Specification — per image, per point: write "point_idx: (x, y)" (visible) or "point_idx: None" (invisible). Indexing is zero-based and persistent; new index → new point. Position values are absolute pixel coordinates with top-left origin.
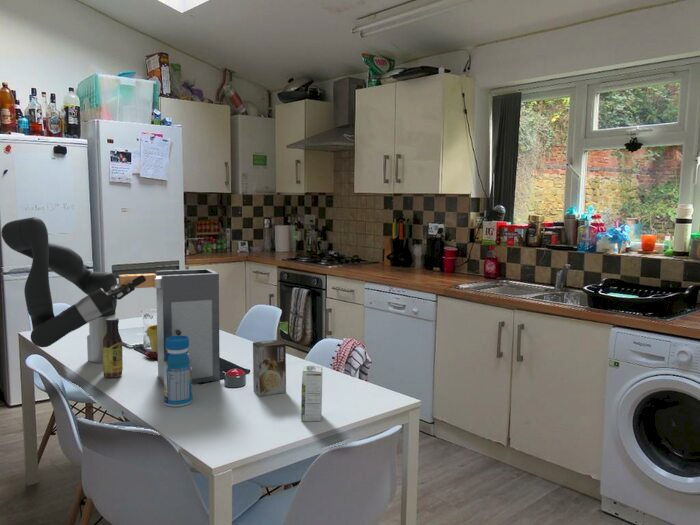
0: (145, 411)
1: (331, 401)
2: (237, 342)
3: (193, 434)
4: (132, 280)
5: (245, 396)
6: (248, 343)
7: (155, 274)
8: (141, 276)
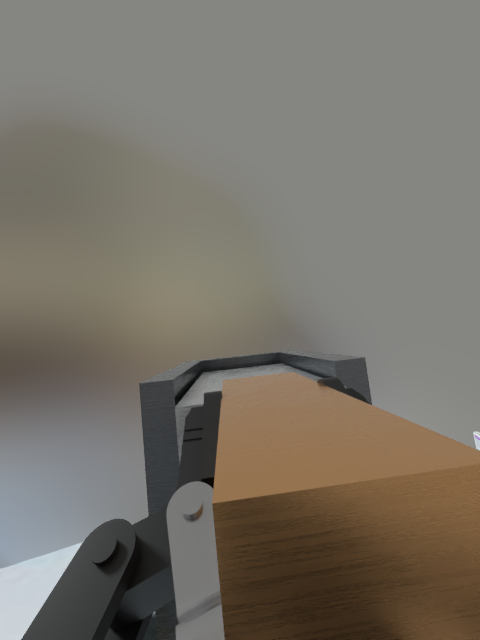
0: None
1: None
2: (36, 572)
3: None
4: None
5: None
6: (68, 553)
7: (273, 374)
8: (340, 388)
